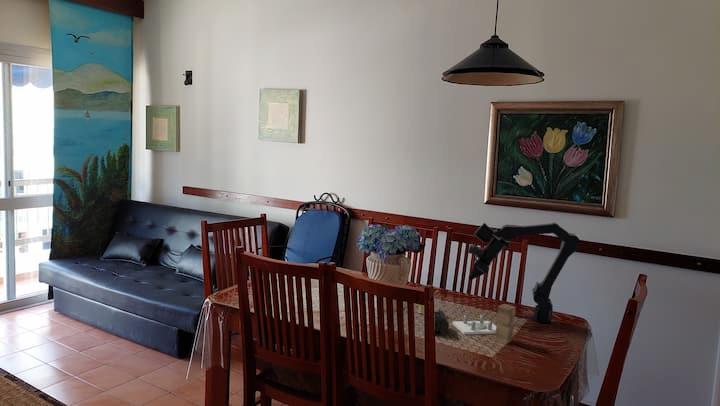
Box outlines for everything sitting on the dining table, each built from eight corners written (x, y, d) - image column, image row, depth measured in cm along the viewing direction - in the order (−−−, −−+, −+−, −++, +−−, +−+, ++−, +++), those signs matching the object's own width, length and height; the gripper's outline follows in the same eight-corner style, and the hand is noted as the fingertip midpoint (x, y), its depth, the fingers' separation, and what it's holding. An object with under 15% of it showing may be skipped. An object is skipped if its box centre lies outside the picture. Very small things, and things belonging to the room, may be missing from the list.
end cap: (448, 336, 187) (449, 319, 186) (429, 335, 187) (430, 317, 187) (444, 326, 197) (446, 310, 196) (426, 325, 197) (427, 308, 197)
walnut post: (501, 337, 190) (504, 303, 188) (512, 340, 186) (515, 307, 185) (495, 340, 186) (498, 306, 185) (506, 343, 183) (509, 309, 182)
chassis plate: (489, 323, 204) (490, 313, 204) (502, 333, 193) (503, 323, 193) (452, 323, 201) (453, 314, 200) (463, 334, 190) (464, 324, 189)
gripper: (478, 234, 224) (457, 260, 227) (476, 241, 206) (453, 270, 210) (499, 250, 222) (476, 276, 226) (498, 258, 204) (474, 287, 208)
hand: (470, 277), depth 217 cm, fingers open, 9 cm apart
